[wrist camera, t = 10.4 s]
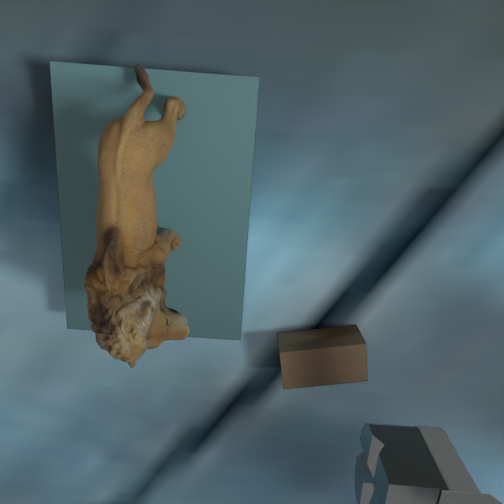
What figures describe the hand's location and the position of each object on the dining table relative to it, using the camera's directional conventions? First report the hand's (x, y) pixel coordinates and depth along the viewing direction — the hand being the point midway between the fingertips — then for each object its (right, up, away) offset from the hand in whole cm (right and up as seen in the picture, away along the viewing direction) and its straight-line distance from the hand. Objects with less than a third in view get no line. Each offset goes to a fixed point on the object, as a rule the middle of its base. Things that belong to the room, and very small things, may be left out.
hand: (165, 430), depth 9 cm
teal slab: (-4, +7, +20) cm, 22 cm away
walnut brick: (+7, -4, +23) cm, 25 cm away
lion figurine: (-4, +7, +18) cm, 19 cm away
